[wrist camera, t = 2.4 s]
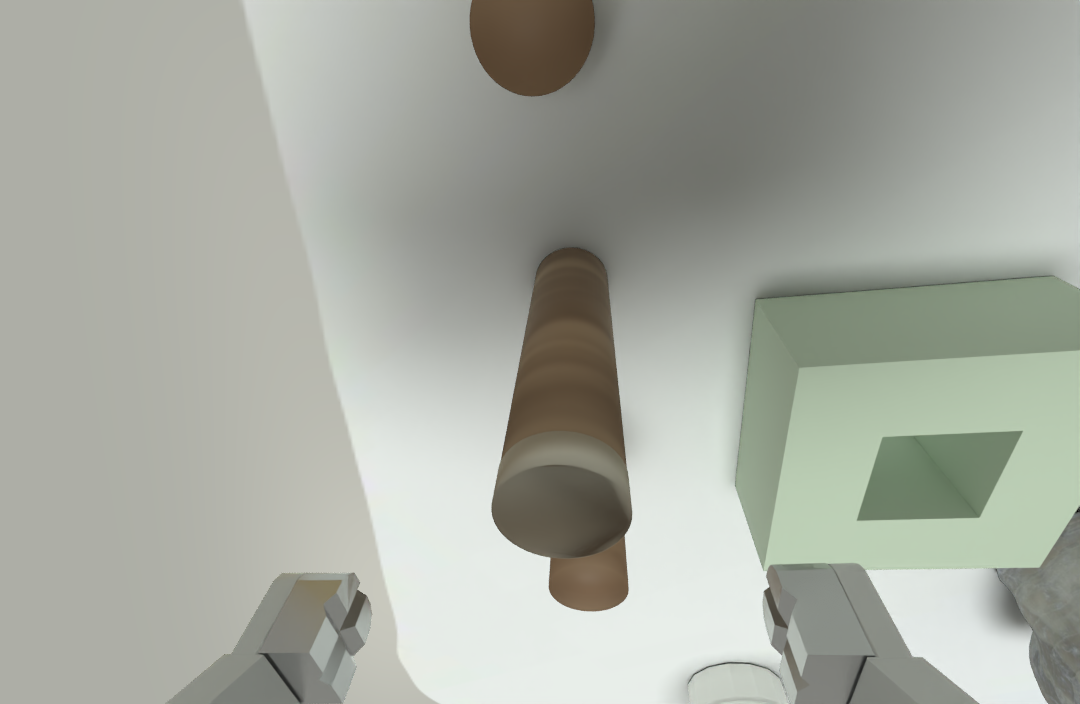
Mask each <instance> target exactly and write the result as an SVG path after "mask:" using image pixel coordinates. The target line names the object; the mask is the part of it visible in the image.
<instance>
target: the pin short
mask: <svg viewBox="0 0 1080 704" xmlns="http://www.w3.org/2000/svg"><path fill="white" fill-rule="evenodd" d="M594 27H595V17H594V8H593V3H592V0H472V3H471V9H470V32H471V39H472V43H473V47H474V49H475V52H476V55H477V57H478V59H479V61H480V63H481V65H482V66H483V68H484V69H485V71H486V72H487V73H488V74H489V76H490V77H491V78H492V79H493V80H494V81H495V82H496V83H498V84H499V85H500V86H502V87H503V88H505V89H507V90H509V91H511V92H513V93H516V94H519V95H524V96H542V95H546V94H549V93H552V92H555V91H557V90H558V89H560V88H562V87H563V86H565V85H566V84H568V83H569V82H570V81H571V80H572V79H573V78H574V77H575V76H576V74H577V73H578V72H579V71H580V69H581V68H582V66H583V65H584V63H585V61H586V59H587V57H588V54H589V52H590V49H591V46H592V41H593V37H594Z"/></svg>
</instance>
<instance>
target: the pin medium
mask: <svg viewBox="0 0 1080 704" xmlns="http://www.w3.org/2000/svg"><path fill="white" fill-rule="evenodd" d="M549 590H550V593H551V595H552V596H553V597H554V599H556V600H557V601H558V602H559V603H561V604H563V605H565V606H567V607H569V608H572V609H576V610H581V611H602V610H607V609H610V608H613V607H615V606H617V605H619V604H620V603H622V602H623V601H624V600H625V598H626V597H627V595H628V575H627V562H626V549H625V535H624V537H623V538H622V539H621V540H620V541H619V542H617V543H616V544H615V545H614V546H612V547H610V548H609V549H607V550H605V551H603V552H600V553H597V554H594V555H591V556H587V557H581V558H571V559H561V558H551V561H550V576H549Z"/></svg>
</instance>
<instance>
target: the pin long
mask: <svg viewBox="0 0 1080 704" xmlns="http://www.w3.org/2000/svg"><path fill="white" fill-rule="evenodd" d="M492 517H493V519H494V522H495V524H496V526H497V528H498V529H499V531H500V532H501V533H502V534H503V535H504V536H505V537H506V538H507V539H508V540H509V541H511V542H512V543H513V544H515V545H517V546H518V547H520V548H522V549H524V550H526V551H528V552H531V553H534V554H537V555H541V556H545V557H551V558H561V559H571V558H581V557H587V556H591V555H594V554H597V553H600V552H603V551H605V550H607V549H609V548H610V547H612V546H614V545H615V544H616V543H617V542H619V541H620V540H621V539H622V538H623V537H624V535H625V534H626V532H627V531H628V529H629V527H630V524H631V520H632V506H631V497H630V487H629V477H628V471H627V466H626V456H625V447H624V437H623V427H622V417H621V407H620V397H619V387H618V378H617V368H616V358H615V348H614V338H613V328H612V318H611V309H610V299H609V289H608V279H607V273H606V270H605V268H604V265H603V264H602V262H601V261H600V260H599V259H598V258H597V257H596V256H595V255H593V254H592V253H590V252H588V251H586V250H583V249H580V248H563V249H560V250H557V251H555V252H553V253H551V254H549V255H548V256H547V257H546V258H545V259H544V260H543V261H542V262H541V264H540V266H539V267H538V270H537V273H536V278H535V283H534V288H533V293H532V299H531V304H530V309H529V315H528V320H527V325H526V330H525V336H524V341H523V346H522V352H521V357H520V362H519V368H518V373H517V378H516V383H515V389H514V394H513V399H512V405H511V410H510V415H509V421H508V426H507V431H506V436H505V442H504V447H503V452H502V458H501V462H500V465H499V469H498V474H497V479H496V485H495V490H494V495H493V500H492Z"/></svg>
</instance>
